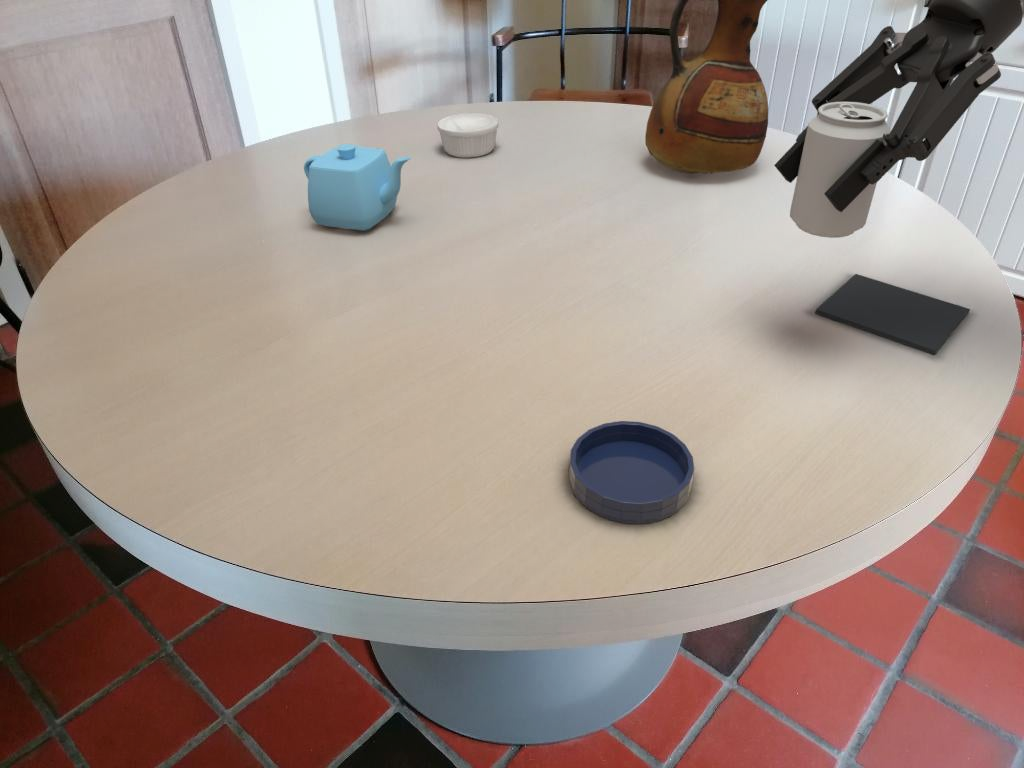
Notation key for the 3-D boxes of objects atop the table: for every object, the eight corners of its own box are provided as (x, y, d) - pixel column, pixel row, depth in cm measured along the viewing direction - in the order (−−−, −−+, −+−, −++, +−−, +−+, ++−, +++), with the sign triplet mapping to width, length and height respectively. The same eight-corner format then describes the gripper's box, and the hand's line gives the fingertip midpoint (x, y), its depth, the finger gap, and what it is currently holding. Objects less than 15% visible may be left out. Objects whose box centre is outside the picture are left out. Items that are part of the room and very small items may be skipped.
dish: (713, 475, 69) (717, 455, 68) (645, 544, 63) (648, 523, 61) (616, 426, 75) (617, 406, 74) (545, 483, 69) (545, 463, 68)
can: (809, 244, 75) (837, 123, 68) (775, 214, 81) (797, 100, 74) (878, 237, 76) (912, 117, 69) (839, 208, 82) (867, 95, 75)
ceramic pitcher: (765, 189, 124) (803, -15, 106) (642, 184, 127) (658, -15, 109) (753, 148, 139) (784, -35, 122) (643, 145, 142) (658, -34, 125)
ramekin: (427, 152, 142) (424, 123, 139) (467, 136, 149) (465, 109, 146) (471, 164, 136) (469, 135, 133) (510, 147, 143) (510, 119, 140)
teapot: (401, 243, 110) (392, 166, 104) (293, 229, 115) (278, 155, 108) (433, 210, 120) (427, 138, 113) (333, 198, 125) (321, 129, 118)
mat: (968, 313, 91) (970, 308, 91) (934, 355, 84) (936, 350, 84) (854, 277, 99) (855, 273, 99) (814, 313, 92) (815, 309, 92)
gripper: (1101, 46, 64) (892, 250, 70) (925, 6, 80) (766, 175, 85) (1080, -19, 60) (859, 204, 65) (898, -48, 75) (732, 134, 81)
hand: (806, 187), depth 75 cm, fingers closed on can, 7 cm apart
